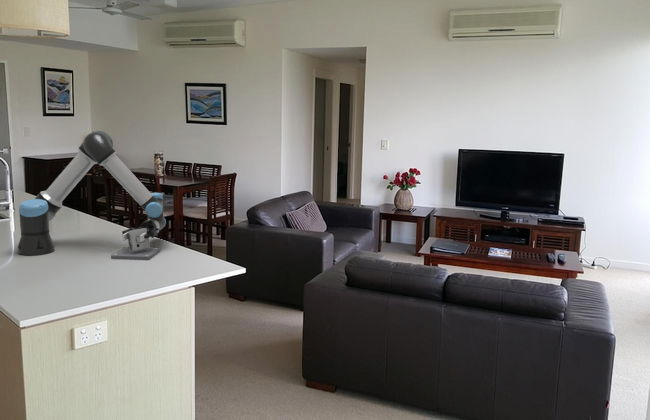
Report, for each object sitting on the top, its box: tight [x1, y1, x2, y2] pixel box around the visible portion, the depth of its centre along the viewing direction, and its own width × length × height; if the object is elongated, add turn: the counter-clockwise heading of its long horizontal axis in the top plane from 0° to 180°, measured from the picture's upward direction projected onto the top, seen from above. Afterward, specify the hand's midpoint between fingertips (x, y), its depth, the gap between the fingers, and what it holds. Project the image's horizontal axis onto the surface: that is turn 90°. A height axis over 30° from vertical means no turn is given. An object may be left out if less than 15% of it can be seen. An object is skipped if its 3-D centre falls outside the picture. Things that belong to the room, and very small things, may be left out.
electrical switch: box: [127, 228, 151, 251], centre depth 254 cm, size 9×5×9 cm, turn 146°
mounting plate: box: [110, 246, 161, 261], centre depth 255 cm, size 17×16×2 cm
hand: (131, 238), depth 249 cm, fingers closed on electrical switch, 7 cm apart
